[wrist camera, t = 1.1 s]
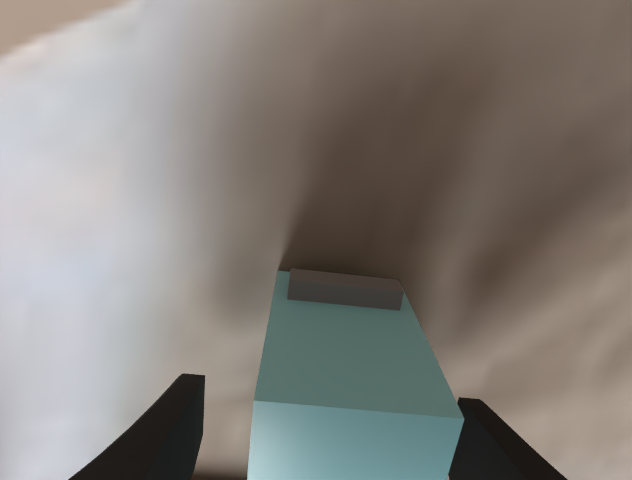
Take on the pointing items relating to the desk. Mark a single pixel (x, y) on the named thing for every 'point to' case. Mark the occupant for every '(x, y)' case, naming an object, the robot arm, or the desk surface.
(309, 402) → the block
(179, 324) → the desk surface
